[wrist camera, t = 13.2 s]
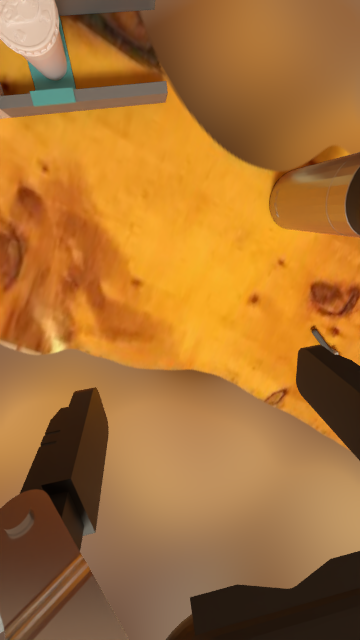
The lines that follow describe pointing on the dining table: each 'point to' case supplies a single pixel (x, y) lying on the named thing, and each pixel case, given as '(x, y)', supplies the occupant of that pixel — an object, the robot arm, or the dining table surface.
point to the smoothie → (34, 34)
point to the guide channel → (63, 92)
